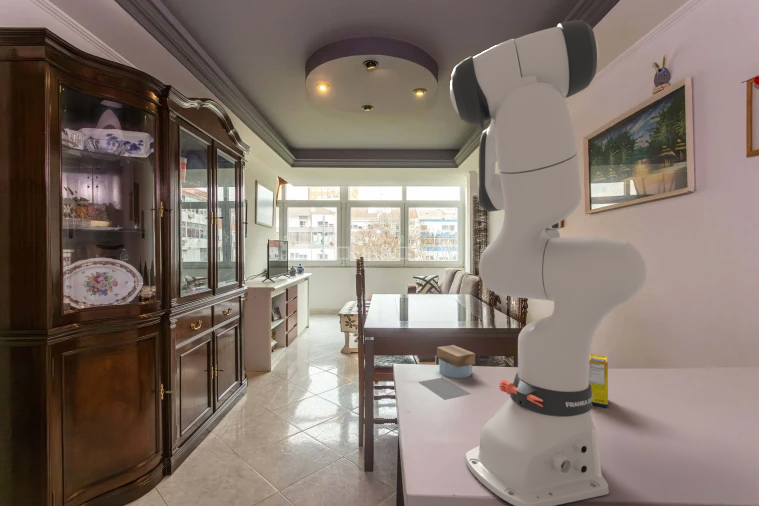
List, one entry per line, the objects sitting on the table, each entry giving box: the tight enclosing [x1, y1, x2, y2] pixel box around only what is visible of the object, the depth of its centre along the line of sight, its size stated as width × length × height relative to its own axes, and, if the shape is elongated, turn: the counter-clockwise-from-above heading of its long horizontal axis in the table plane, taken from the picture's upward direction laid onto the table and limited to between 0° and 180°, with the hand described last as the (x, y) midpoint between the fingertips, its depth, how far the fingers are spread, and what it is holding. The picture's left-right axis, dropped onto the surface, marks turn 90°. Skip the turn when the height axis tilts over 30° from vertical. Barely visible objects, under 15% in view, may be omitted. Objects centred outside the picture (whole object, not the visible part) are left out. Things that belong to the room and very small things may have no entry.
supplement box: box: [589, 353, 609, 409], centre depth 83 cm, size 6×6×11 cm
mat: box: [418, 377, 471, 400], centre depth 88 cm, size 8×12×1 cm, turn 25°
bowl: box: [438, 358, 473, 379], centre depth 100 cm, size 9×9×4 cm
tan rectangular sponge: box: [436, 344, 476, 367], centre depth 100 cm, size 6×10×3 cm, turn 25°
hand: (530, 271), depth 96 cm, fingers open, 8 cm apart
